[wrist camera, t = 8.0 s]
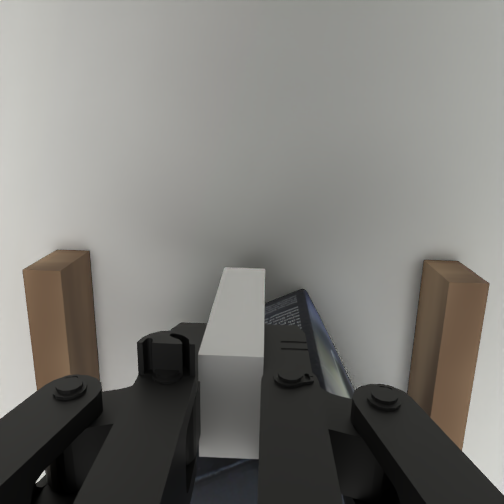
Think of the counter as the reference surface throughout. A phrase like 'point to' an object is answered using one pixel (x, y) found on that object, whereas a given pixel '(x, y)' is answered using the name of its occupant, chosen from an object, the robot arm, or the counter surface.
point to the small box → (330, 379)
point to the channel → (424, 348)
